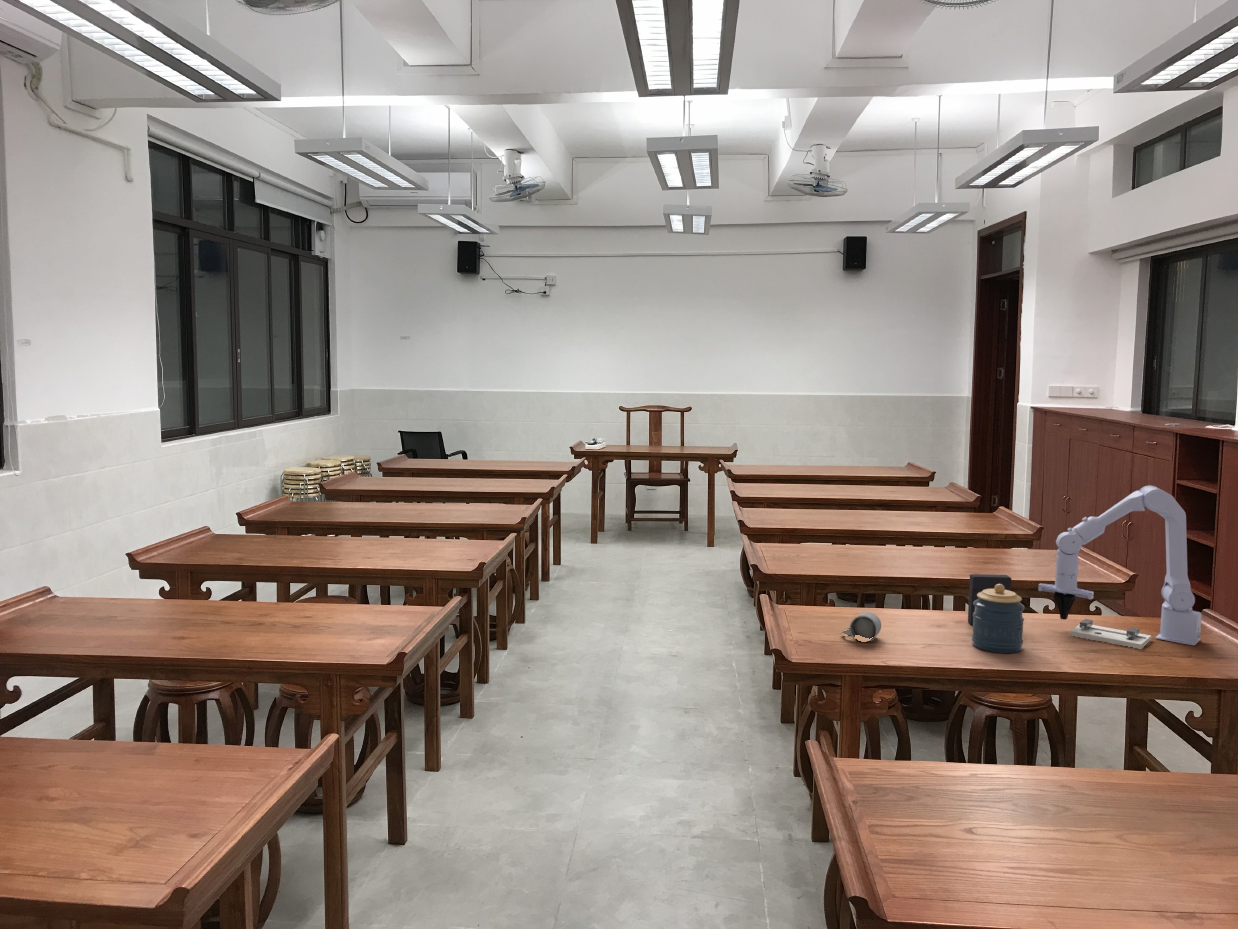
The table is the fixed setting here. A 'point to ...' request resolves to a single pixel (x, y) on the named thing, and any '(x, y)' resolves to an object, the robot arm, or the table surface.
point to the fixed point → (1132, 632)
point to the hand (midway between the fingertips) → (1063, 618)
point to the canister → (998, 621)
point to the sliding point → (1086, 624)
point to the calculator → (981, 583)
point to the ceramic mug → (865, 626)
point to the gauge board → (1111, 636)
